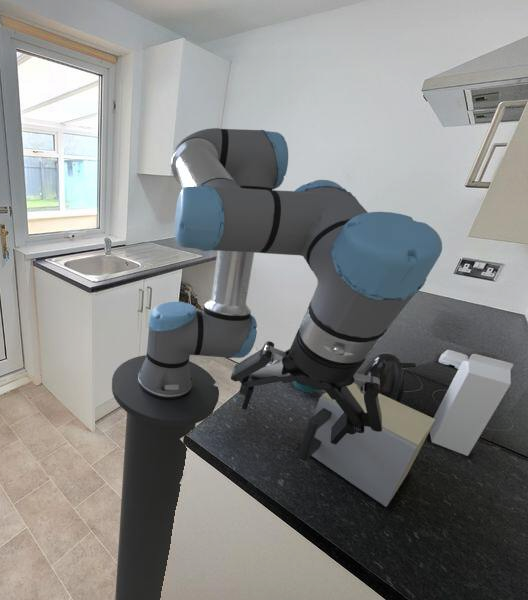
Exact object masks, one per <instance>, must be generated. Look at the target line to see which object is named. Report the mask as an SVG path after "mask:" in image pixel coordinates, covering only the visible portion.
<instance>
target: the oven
mask: <svg viewBox="0 0 528 600" xmlns="http://www.w3.org/2000/svg"><path fill="white" fill-rule="evenodd" d="M347 388H348V389H349V391H350V392H351V393H352V395H353V396H354V397H355V399H356V400H357V402H358V403H359V404H360V406H361V407H362V409H363V410H364V412H365V413H367V410H366V406H365V402H364V394H362V393H361V392H360V389H358V386H357V385H356V384H355V383H353V384H351V385H349V386H347ZM321 396H323V397H325V398H327V399H329V400H331V401H333V402H335V403H337V402H336V401H335V400H332V399H331V398H330V396H329V395H328V394H327V392H326V391H325V393H323V394H322V395H321ZM378 400H379V404H380V409H381V414H382V428H384V429H385V430H387V431H389V432H391V433H393V434H395V435H397V436H399V437H400V438H402V439H404V440H406V441H408V442H410V443H412V444H414V445H415V446H417V449H416V451H415V453H414V455H413V457H412V459H411V461H410V463H409V465H408V467H407V469H406V471H405V473H404V475H403V476H402V478H401V480H400V482H399V484H398V486H397V488H396V490H395V492H394V494H393V496H392V498H391V500H390V502H391V501H392V500H393V498H394V496H395V495H396V493H397V492H398V490H399V488H400V487H401V485H402V484H403V482H404V481H405V479H406V477H407V476H408V474H409V472H410V470H411V469H412V467H413V464H414V462H415V460H416V459H417V456H418V455H419V452H420V451H421V448H422V447H423V445H424V443H425V441H426V439H427V437H428V435H429V434H430V432H429V431H430V429H431V428H432V426H433V424H434V422H435V420H436V419H434V417H432V416H429V415H427V414H425V413H424V412H421V411H419V410H417V409H415V408H412V407H410V406H408V405H406V404H403V403H402V402H400V403H399V402H397V401H395V400H393V399H390V398H388V397H386V396H384V395H382V394H380V393H379V394H378ZM337 404H338V403H337Z"/></svg>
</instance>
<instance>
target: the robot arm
mask: <svg viewBox="0 0 528 600" xmlns="http://www.w3.org/2000/svg"><path fill="white" fill-rule="evenodd" d="M170 166H171V173H172V175H173V178H174V179H175V181H176V182H177V183H178V184H180V186H181V190H180V192H179V194H178V197H177V201H176V208H175V216H174V240H175V242H176V244H177V245H178V246H179V247H181V248H185V249H195V250H199V251H202V252H210V251H215V252H216V257H215V266H214V273H213V281H212V288H211V295H210V299H208V300H207V301H206V302H204V304H203V309H202V310H197V309H196V307H195V306H194V305H193V304H192V303H189V302H185V301H168V302H164V303H163V302H162V303H160V304H158V305H155V307H153V308H152V310H151V311H150V314H149V321H148V324H147V327H148V335H147V345H146V354H145V355H146V358H145V360H144V363H143V365H142V367H141V369H140V371H139V374H138V384H139V386H140V388H141V389H142V390H143V391H144V392H145V393H147V394H149V395H150V396H153V397H155V398H159V399H164V400H176V399H180V398H183V397H185V396H187V395H188V394H189V393H190V392H191V390H192V384H193V380H192V375H191V371H190V366H189V361H190V357H191V356H202V357H213V358H225V359H242V358H245V357H246V356H248V355H249V354H250V353H251V352H252V350H253V348H254V345H255V343H256V340H257V339H256V338H257V335H258V330H257V328H258V323H257V319H256V317H255V316H254V315H252V309H251V308H250V307H249V306H248V304H247V300H248V293H249V288H250V287H249V286H250V281H251V276H252V269H253V264H254V257H255V253H256V254H257V253H258V254H268V255H269V254H272V255H284V256H285V255H286V256H300V257H303V259H304V260H305V262H306V264H307V265H308V267H309V268H310V270H311V271H312V273H313V274H314V276H315V277H316V280H317V285H316V287H315V290H314V293H313V294H312V297H311V299H310V301H309V305H308V307H307V310H306V311H305V314H304V316H303V318H302V320H301V322H300V325H299V328H298V329H297V332H296V334H295V336H294V338H293V341H292V343H291V345H290V347H289V349H286V350H281V349H278V348H276V347H275V343H274V342H273V341H269V340H268V341H265V343H264V344H263V346H262V348H261V349H259V350H257V351H256V352H254V353H253V354H252V355H251V354H250V356H248V357H246V358H245V359H243V360H241V361H240V362H238V363H237V364H235V365H234V367H233V370H232V373H231V375H230V380H231V381H233V382H239V383H240V388H239V391H238V392H239V395H243V396H244V399H243V403H242V406H241V409H242V410H245V411H247V409H248V407H249V403H250V401H251V398H252V395H253V392H254V389H255V387H258V386H263V385H268V384H274V383H279V382H281V383H282V384H288V383H293V382H294V381H296V383H299V384H302V385H307V386H310V387H312V388H314V389H317V390H316V391H319V392H320V391H325V393H326V392H327V394H328V395H329V396H330V398H331V399H332V400H335V401H336V402H337V403H338V405H339V406H340V407H341V409H342V410H343V411H344V413H343V414H342V415H341V417H340V418H339V419H338V420H337V421H336V423H335V424H334V425H333V426H332V428H331V442H330V443H333V444H335V445H336V444H337V443H338V442H339V441H340V440H341V439H342V438H343V437H344V436H345V435H346V433H348V434H351V435H352V434H355V433H356V432H358V433H364V426H368V427H371V429H372V430H373V431H377V432H381V431H382V414H381V409H380V404H379V400H378V394H379V392H380V378H379V374H378V373H376V372H369V373H368V374H367V375H362V374H358V371H359V370H360V369H361V367H362V366H363V365H364V363H365V361H366V359H367V358H368V357H369V355H370V354H371V353H372V351H373V350H374V349H375V347H376V346H377V345H378V343H379V342H380V341H381V339H382V338H383V337H384V335H385V334H386V332H387V331H388V329H389V328H390V327H391V325H392V324H393V322H394V321H395V320H396V319H397V317H398V316H399V315H400V314H401V312H402V311H403V309H404V308H405V307H406V306H407V305H408V303H409V302H410V301H411V300H412V298H413V297H414V296H415V295H416V294H417V293H419V292H420V290H421V289H422V288H423V287H424V285H425V284H426V282H427V278H428V277H429V275H430V273H431V271H432V270H433V268H434V267H435V264H436V263H437V261H438V260H439V258H440V256H441V254H442V251H443V241H442V238H441V236H440V235H439V233H438V232H437V231H436V230H435V229H434V228H433V227H432V226H431V225H429V224H427V223H426V222H421V221H417V220H414V219H413V217H412V216H409V215H407V214H402V213H399V212H389V211H370V212H368V210H366V208H365V207H364V206H363V205H362V204H361V203H360V202H359V200H358V198H356V196H355V195H353V193H352V192H351V191H348V190H347V189H346V188H345V187H343V186H342V185H340V184H339V183H337V182H335V181H332V180H329V179H316V180H313V181H311V182H308V183H306V184H302V185H300V186H299V187H297V188H296V189H295V190H277V189H278V188H280V187H281V185H282V184H283V183H284V181H285V176H286V175H287V171H288V166H289V147H288V143H287V141H286V139H285V136H283V134H281V133H280V132H277V131H269V130H266V129H240V128H239V129H238V128H236V129H233V128H220V127H213V128H205V129H201V130H198V131H195V132H193V133H191V134H188V135H187V136H186V137H184V138H183V139H182V140H181V141H179V143H178V144H177V145H176V146H175V148H174V150H173V152H172V155H171V160H170ZM276 361H279V362H278V363H274V362H276ZM353 383H355V384H356V385H357V386H358V389H360V392H361V393H362V394H364V402H365V406H366V410H367V413H365V412H364V410H363V409H362V407H361V406H360V404H359V403H358V402H357V400H356V399H355V397H354V396H353V395H352V393H351V392H350V391H349V389H348V388H347V386H349V385H351V384H353Z"/></svg>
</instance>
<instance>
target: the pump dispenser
mask: <svg viewBox="0 0 528 600" xmlns="http://www.w3.org/2000/svg"><path fill="white" fill-rule="evenodd" d="M409 368H410V369H411V368H417V364H416V363H415V362H405V361H401V359H400V358H399V357H398V356H396V355H395V354H393V353H391V352H380V353H377V354H375V355H374V356H372V357H371V358H369V359H368V360H367V361H366V362H364V363H363V364H362V366H361V367H360V368H359V369H358V371H357V373H358V374H362V375H367V374H368V373H369V372H376V373H378V374H379V378H380V392H379V393H380V394H382V395H384V396H386V397H388V398H390V399H393V400H395V401H397V402H399V403H401V400H402V397H403V393H404V388H405V372H404V369H409Z"/></svg>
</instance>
